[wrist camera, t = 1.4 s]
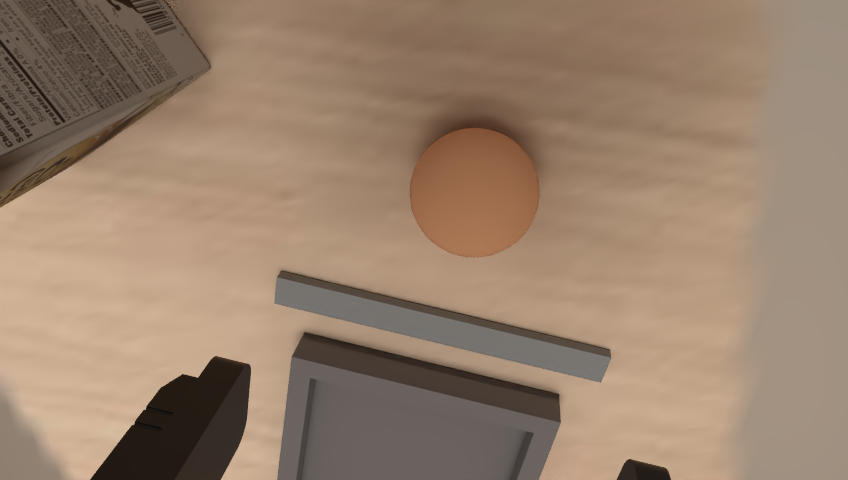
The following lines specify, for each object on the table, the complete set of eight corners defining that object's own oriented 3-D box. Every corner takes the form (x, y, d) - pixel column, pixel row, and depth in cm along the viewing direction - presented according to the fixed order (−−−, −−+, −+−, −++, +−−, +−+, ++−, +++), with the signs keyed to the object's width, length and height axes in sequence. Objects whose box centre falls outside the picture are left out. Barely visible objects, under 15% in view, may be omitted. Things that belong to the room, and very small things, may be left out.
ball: (432, 100, 27) (413, 138, 22) (552, 127, 26) (557, 171, 22) (410, 209, 29) (389, 263, 25) (521, 235, 29) (520, 294, 24)
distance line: (281, 270, 31) (276, 277, 31) (609, 350, 31) (611, 357, 30) (278, 297, 32) (274, 303, 32) (599, 374, 31) (601, 382, 31)
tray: (304, 332, 33) (291, 356, 31) (558, 394, 32) (560, 422, 31) (282, 507, 39) (270, 535, 37) (496, 561, 38) (494, 593, 37)
